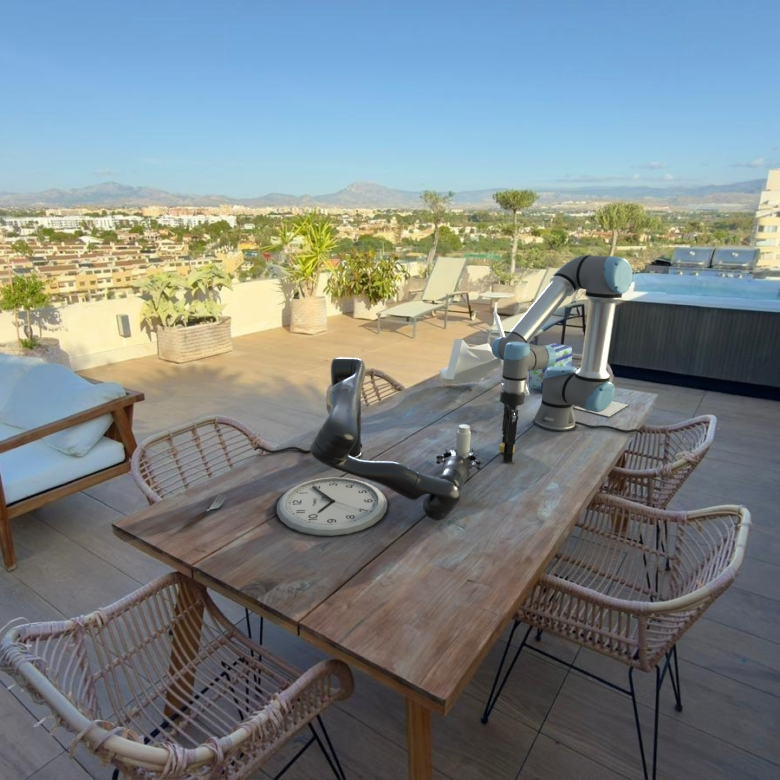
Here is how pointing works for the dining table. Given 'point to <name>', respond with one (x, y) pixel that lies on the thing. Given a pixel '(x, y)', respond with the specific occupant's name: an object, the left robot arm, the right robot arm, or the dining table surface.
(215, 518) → the dining table surface
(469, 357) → the white plastic object
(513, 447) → the lid
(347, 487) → the wall clock
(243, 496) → the dining table surface
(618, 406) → the invitation card
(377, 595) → the dining table surface
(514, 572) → the dining table surface
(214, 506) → the fork
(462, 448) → the white cylinder
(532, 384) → the lunch box
